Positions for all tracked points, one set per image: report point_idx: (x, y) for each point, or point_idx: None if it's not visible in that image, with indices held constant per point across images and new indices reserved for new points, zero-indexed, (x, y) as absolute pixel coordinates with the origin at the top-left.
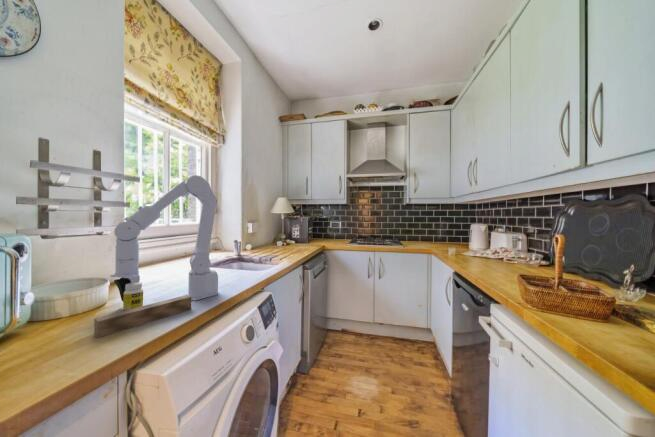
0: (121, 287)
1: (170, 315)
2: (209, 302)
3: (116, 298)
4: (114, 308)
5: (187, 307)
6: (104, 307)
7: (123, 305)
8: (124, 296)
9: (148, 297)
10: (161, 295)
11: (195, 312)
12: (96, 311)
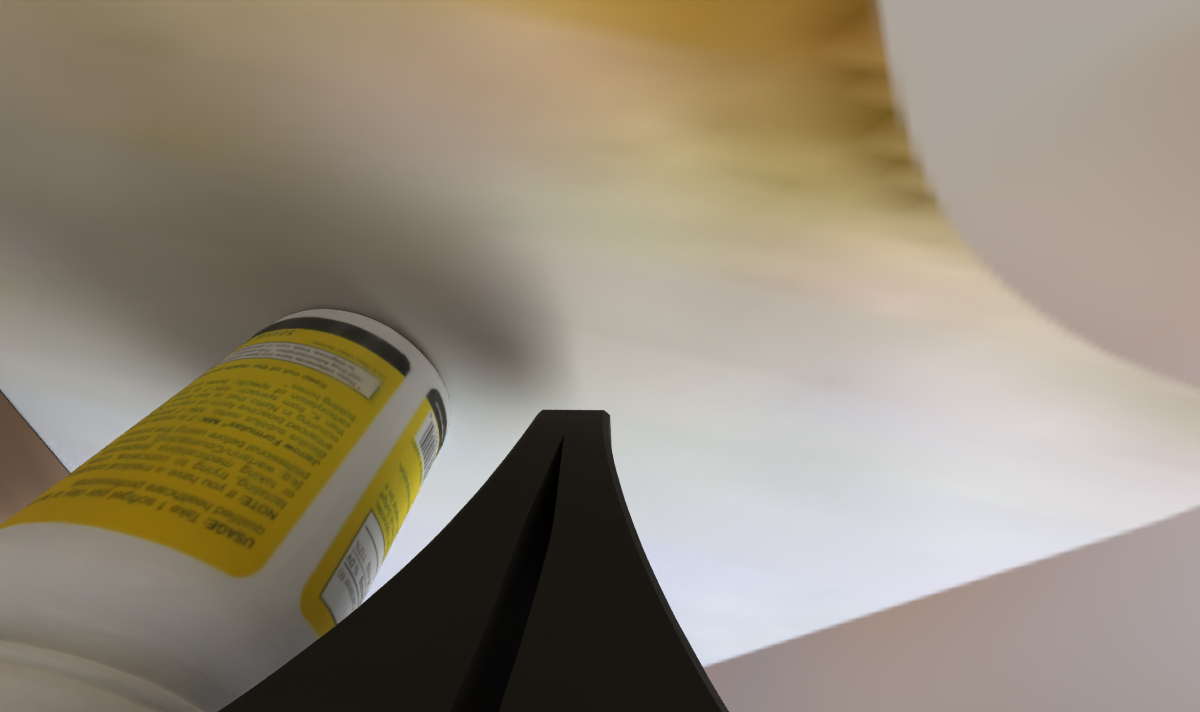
0: (305, 657)
1: None
2: None
3: (1130, 417)
4: (634, 283)
5: None
6: (825, 200)
7: (263, 359)
8: (83, 476)
9: (745, 593)
10: (698, 654)
11: None
12: (712, 55)
